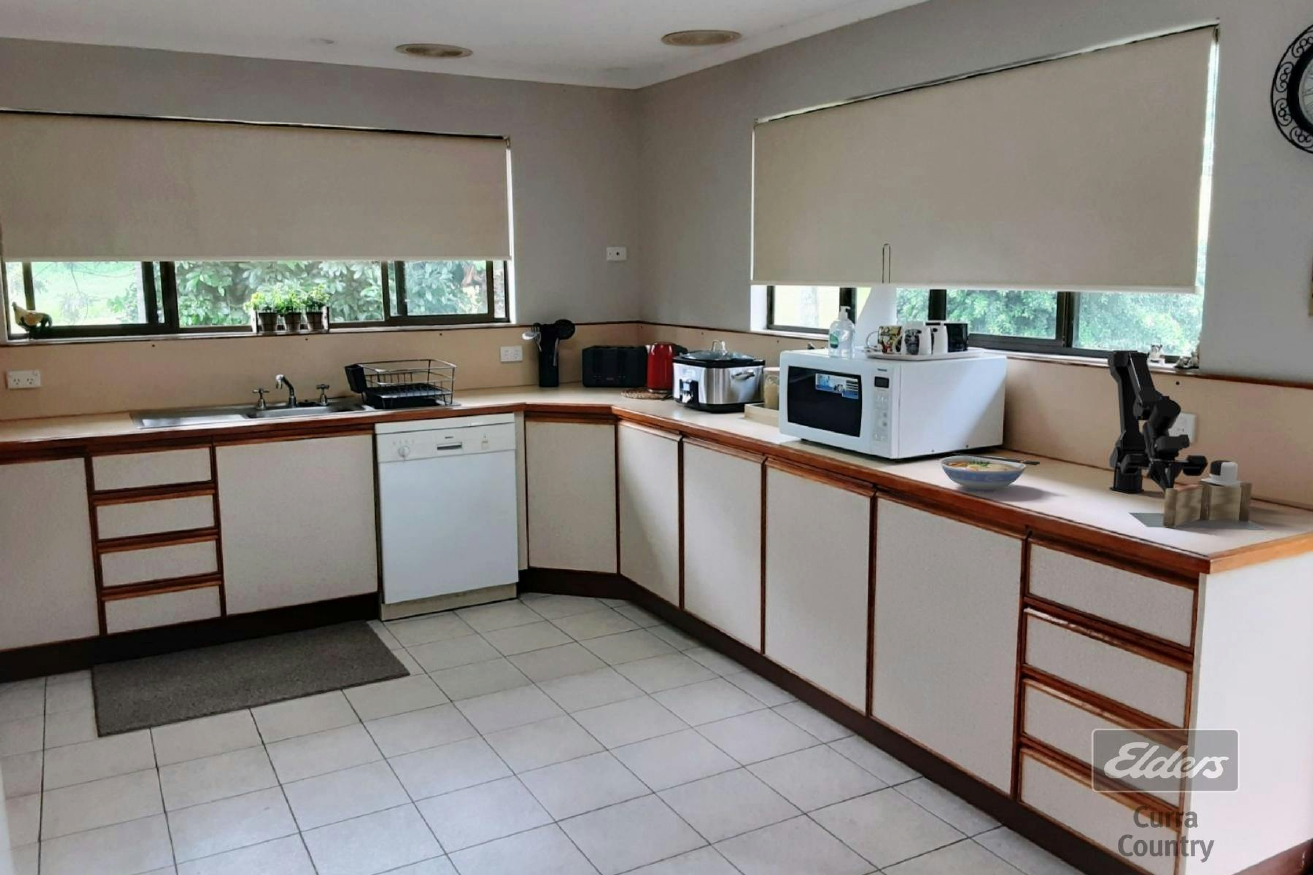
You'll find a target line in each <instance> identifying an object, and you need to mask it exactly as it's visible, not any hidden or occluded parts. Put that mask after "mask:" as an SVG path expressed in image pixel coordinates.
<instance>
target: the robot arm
mask: <svg viewBox="0 0 1313 875" xmlns="http://www.w3.org/2000/svg"><path fill="white" fill-rule="evenodd" d="M1106 361H1107V366H1108V368H1109V373H1110V376H1111V377H1112V379H1114V381H1115V382H1116V384H1117V394H1118V398H1117V399H1118V408H1119V409H1118V411H1119V413H1118V414H1119V426H1120V435H1119V436H1118V438H1117V440H1115V443H1114V448H1113V450H1112V453H1111V454H1110V457H1109V459H1108V460H1109V467H1110V468H1112V469H1113V470H1114V471H1113V482H1112V486H1110V487H1109V488H1108V489H1109V490H1112V491H1117V492H1120V493H1122V492H1123V493H1127V494H1134V493H1135V494H1136V493H1139V492H1144V491H1145V489H1144V488H1143V481H1144V475H1143V470H1145V471H1147V473H1146V475H1145V477H1146V478H1147V479H1151V480H1152V481H1153V482H1154V483H1156V484H1157V486H1159V487H1160V488H1161V490H1162V491H1163V492H1164V493H1166V488H1175V483H1176V482H1175V481H1176V479H1177V478H1178V477H1179V476H1180V474H1181V472H1182V473H1183V475H1185V476H1186V477H1199V476H1202V474H1203V473H1204V472H1205V469H1206V468H1207V466H1208V465H1209V462H1208V459H1207V456H1205V455H1203V454H1199V455H1198V454H1188V455H1187V457H1186V458H1185V459H1184V460H1183V459H1176V458H1178V457H1179V455H1180V453H1179V452H1180V451H1182V450H1183V449H1189V447H1190V446H1191V440H1190V437H1189V435H1188V434H1187V433H1186V434H1183V433H1182V434H1180V435H1176V436H1175V435H1170V431H1169V430H1170V429H1172V428H1173V426H1175V423H1176V421H1177V419H1178V418H1179V416H1180V414H1181V413H1182V412H1181V411H1182V407H1181V405H1180V404H1179V402H1176V401H1175V400H1173V399H1171V397H1170V395H1163V393H1162V392H1160V391H1158V390H1157V389H1156V387H1155V384H1154V381H1153V377H1152V373H1151V371H1150V368H1149V365H1148V354H1147V353H1146V352H1143V351H1139V350H1137V349H1136V350H1135V349H1134V350H1133V349H1127V350H1126V349H1120V350H1119V349H1116V350H1115V349H1114V350H1113V351H1112V352H1111V353H1109V354H1108V355H1107V360H1106ZM1140 421H1145V422H1144V423H1143V425H1142V431H1141V430H1140V429H1141V428H1140Z"/></svg>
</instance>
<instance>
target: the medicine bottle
mask: <svg viewBox="0 0 1313 875" xmlns="http://www.w3.org/2000/svg"><path fill="white" fill-rule="evenodd" d="M1209 467H1210V468H1209V469H1210V470H1209V477H1207V478H1202V479H1200V481H1204V482H1209V489H1210V486H1231V487H1240V483H1241V482H1243V481H1242V480H1237V479H1238V471H1239V470H1238V469H1239V465H1238V463H1236V462H1234V461H1232V460H1224V459H1223V460H1221V459H1217V460H1213V461H1211V462H1210V466H1209ZM1208 501H1209V494H1208ZM1207 508H1208V505H1207Z"/></svg>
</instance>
